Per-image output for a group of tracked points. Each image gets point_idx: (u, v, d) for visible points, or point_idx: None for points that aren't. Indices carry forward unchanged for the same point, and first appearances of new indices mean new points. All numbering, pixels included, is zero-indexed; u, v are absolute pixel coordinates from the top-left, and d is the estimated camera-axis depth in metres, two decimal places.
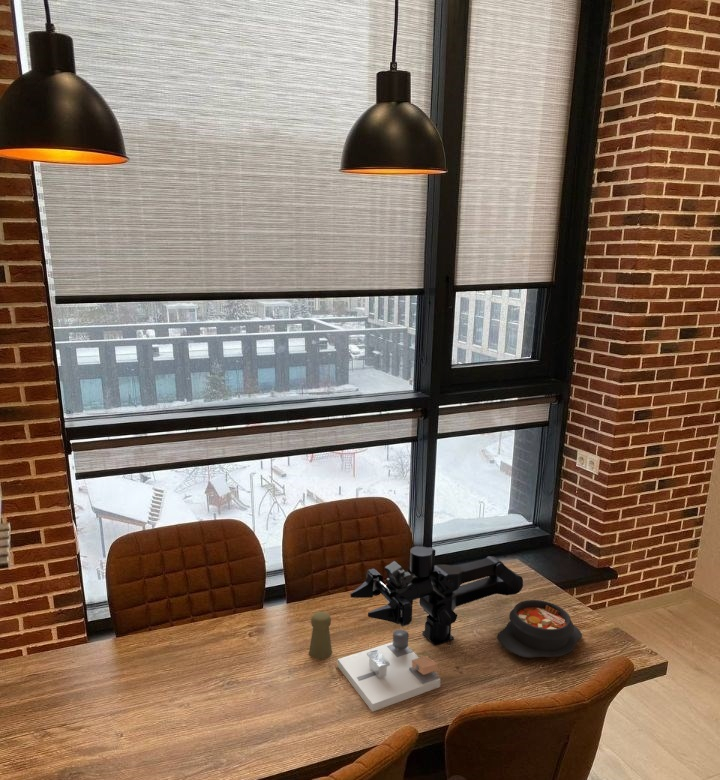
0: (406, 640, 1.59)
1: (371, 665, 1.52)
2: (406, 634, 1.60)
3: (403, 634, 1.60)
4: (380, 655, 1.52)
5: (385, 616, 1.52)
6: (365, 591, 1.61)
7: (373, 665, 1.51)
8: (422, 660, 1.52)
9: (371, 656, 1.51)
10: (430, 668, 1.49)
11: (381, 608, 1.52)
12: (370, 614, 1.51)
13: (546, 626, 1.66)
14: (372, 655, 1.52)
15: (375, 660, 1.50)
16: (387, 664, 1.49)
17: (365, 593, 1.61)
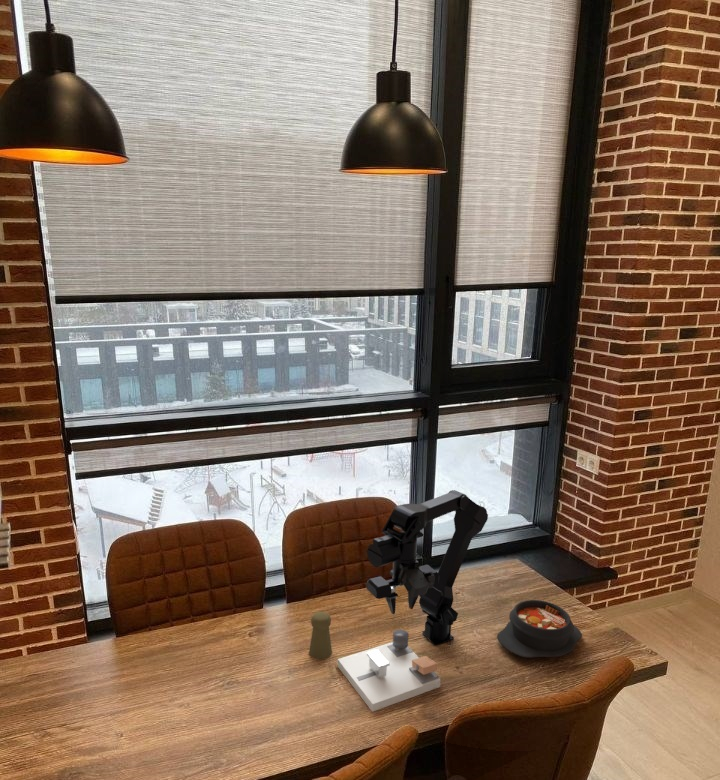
0: (406, 640, 1.59)
1: (371, 665, 1.52)
2: (406, 634, 1.60)
3: (403, 634, 1.60)
4: (380, 655, 1.52)
5: None
6: None
7: (373, 665, 1.51)
8: (422, 660, 1.52)
9: (371, 656, 1.51)
10: (430, 668, 1.49)
11: (415, 598, 1.59)
12: None
13: (546, 626, 1.66)
14: (372, 655, 1.52)
15: (375, 660, 1.50)
16: (387, 664, 1.49)
17: None
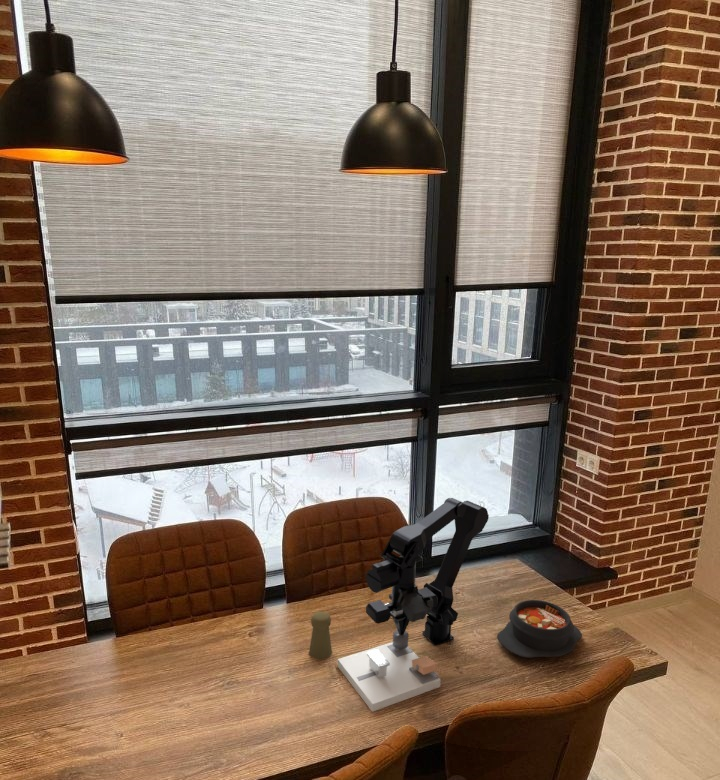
0: (406, 640, 1.59)
1: (371, 665, 1.52)
2: (406, 634, 1.60)
3: (403, 634, 1.60)
4: (380, 655, 1.52)
5: None
6: None
7: (373, 665, 1.51)
8: (422, 660, 1.52)
9: (371, 656, 1.51)
10: (430, 668, 1.49)
11: (406, 624, 1.59)
12: None
13: (546, 626, 1.66)
14: (372, 655, 1.52)
15: (375, 660, 1.50)
16: (387, 664, 1.49)
17: None
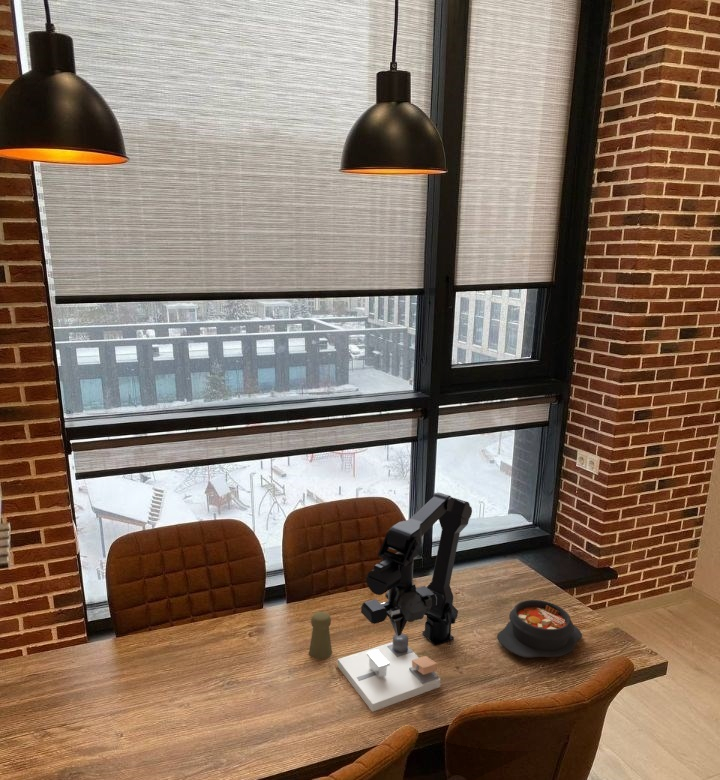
0: (406, 644, 1.59)
1: (371, 665, 1.52)
2: (406, 638, 1.60)
3: (403, 638, 1.60)
4: (380, 655, 1.52)
5: None
6: None
7: (373, 665, 1.51)
8: (422, 660, 1.52)
9: (371, 656, 1.51)
10: (430, 668, 1.49)
11: (404, 624, 1.51)
12: None
13: (546, 626, 1.66)
14: (372, 655, 1.52)
15: (375, 660, 1.50)
16: (387, 664, 1.49)
17: None
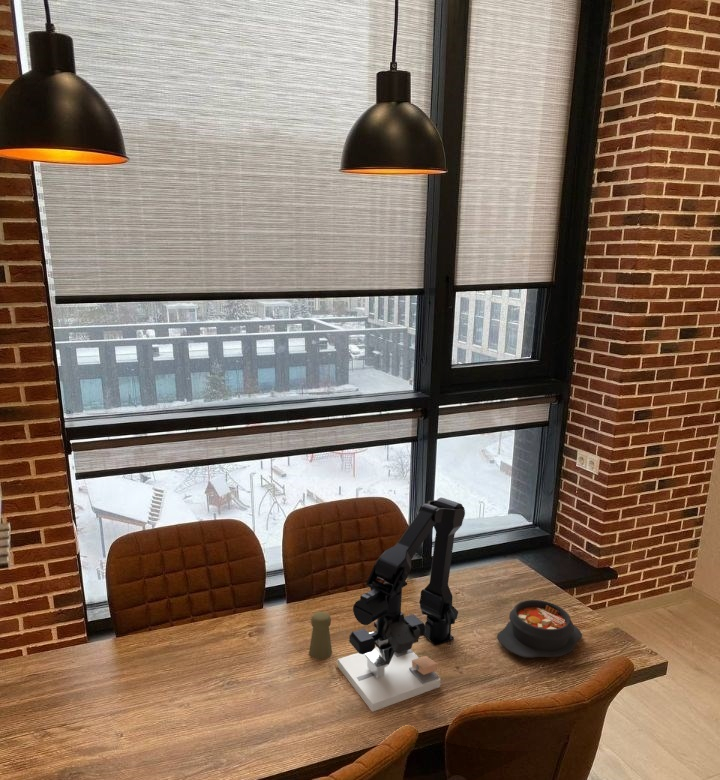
0: None
1: (369, 666, 1.52)
2: None
3: None
4: (378, 656, 1.51)
5: None
6: None
7: (371, 666, 1.51)
8: (422, 660, 1.52)
9: (369, 657, 1.51)
10: (430, 668, 1.49)
11: (392, 653, 1.51)
12: None
13: (546, 626, 1.66)
14: (370, 656, 1.51)
15: (373, 661, 1.50)
16: (385, 665, 1.49)
17: None
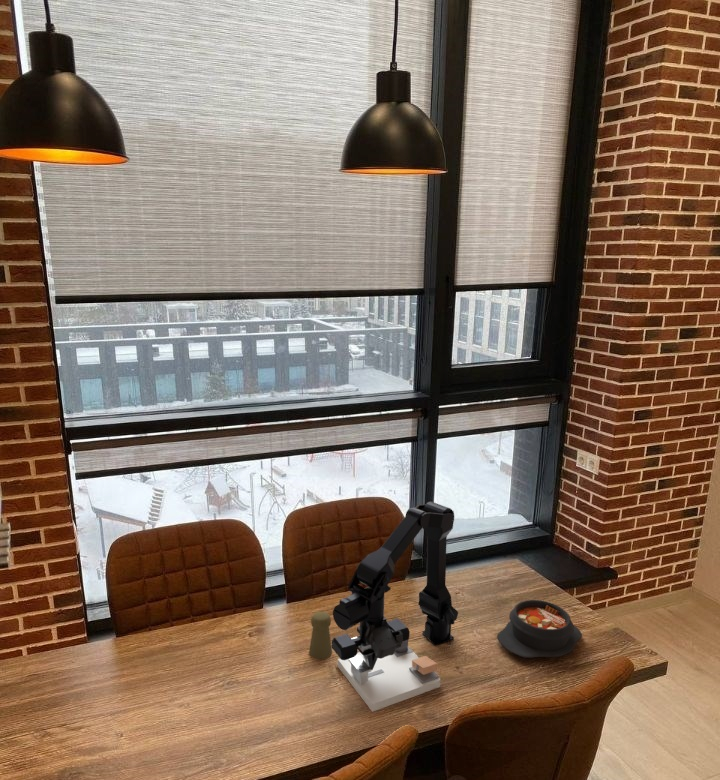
0: (406, 644, 1.59)
1: (353, 671, 1.50)
2: None
3: None
4: (362, 661, 1.49)
5: None
6: None
7: (355, 671, 1.49)
8: (422, 660, 1.52)
9: (353, 662, 1.49)
10: (430, 668, 1.49)
11: (375, 659, 1.49)
12: None
13: (546, 626, 1.66)
14: (354, 661, 1.49)
15: (356, 666, 1.47)
16: (369, 670, 1.46)
17: None
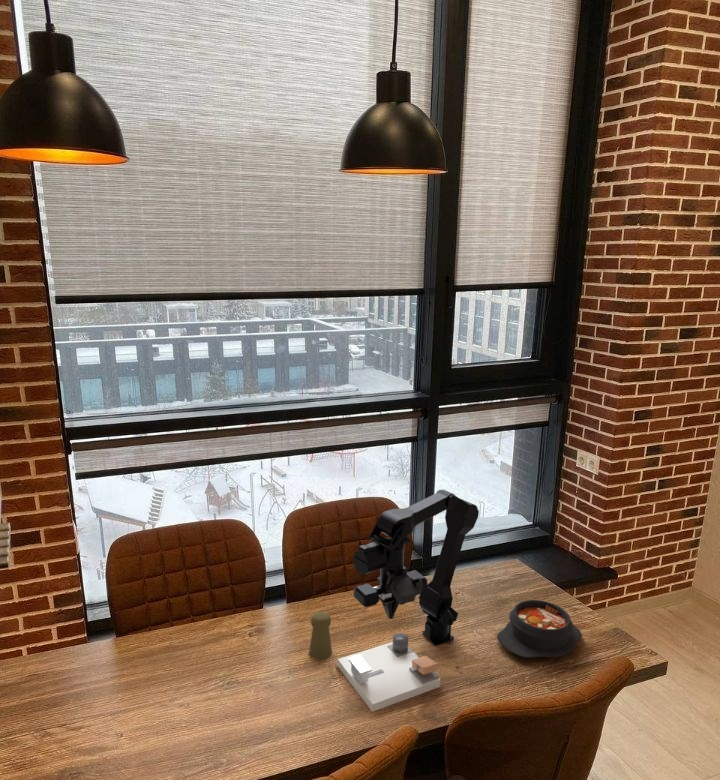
0: (406, 644, 1.59)
1: (353, 671, 1.50)
2: (406, 638, 1.60)
3: (403, 638, 1.60)
4: (362, 661, 1.49)
5: None
6: None
7: (355, 671, 1.49)
8: (422, 660, 1.52)
9: (353, 662, 1.49)
10: (430, 668, 1.49)
11: (395, 607, 1.55)
12: None
13: (546, 626, 1.66)
14: (354, 661, 1.49)
15: (357, 666, 1.47)
16: (369, 670, 1.46)
17: None
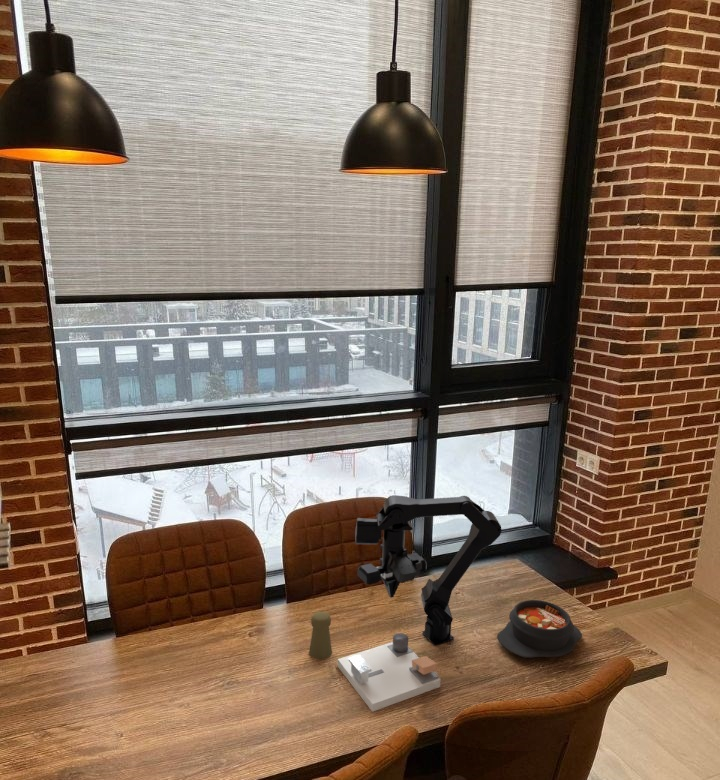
0: (406, 644, 1.59)
1: (353, 671, 1.50)
2: (406, 638, 1.60)
3: (403, 638, 1.60)
4: (362, 661, 1.49)
5: None
6: None
7: (355, 671, 1.49)
8: (422, 660, 1.52)
9: (353, 662, 1.49)
10: (430, 668, 1.49)
11: (396, 586, 1.66)
12: None
13: (546, 626, 1.66)
14: (354, 661, 1.49)
15: (357, 666, 1.47)
16: (369, 670, 1.46)
17: None
